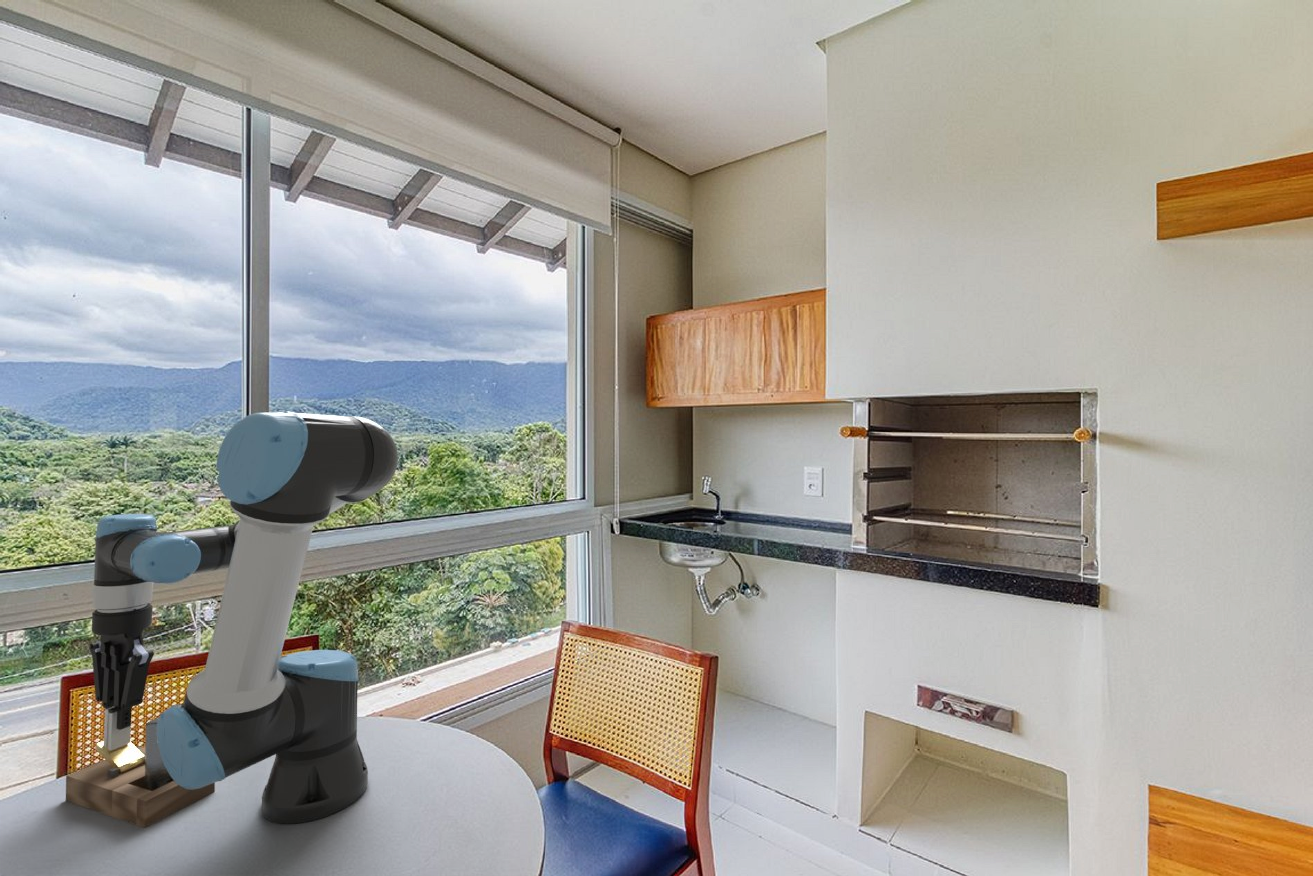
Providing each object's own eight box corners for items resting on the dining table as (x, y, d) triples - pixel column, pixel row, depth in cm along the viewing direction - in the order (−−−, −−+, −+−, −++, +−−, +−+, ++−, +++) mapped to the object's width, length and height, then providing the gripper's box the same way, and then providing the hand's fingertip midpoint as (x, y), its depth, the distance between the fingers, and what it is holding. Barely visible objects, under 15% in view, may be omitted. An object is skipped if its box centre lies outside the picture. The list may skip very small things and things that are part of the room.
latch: (145, 763, 98) (147, 758, 98) (120, 775, 95) (121, 769, 95) (120, 738, 101) (122, 733, 100) (95, 748, 97) (96, 743, 97)
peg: (182, 797, 95) (183, 717, 96) (154, 812, 92) (156, 728, 92) (166, 792, 97) (167, 714, 97) (138, 806, 93) (139, 724, 93)
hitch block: (214, 791, 97) (215, 760, 97) (144, 828, 88) (145, 793, 88) (138, 768, 104) (138, 739, 104) (65, 800, 94) (66, 768, 95)
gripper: (174, 606, 100) (168, 743, 99) (124, 595, 104) (118, 727, 104) (121, 618, 92) (114, 766, 92) (70, 606, 97) (64, 747, 97)
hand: (116, 745), depth 98 cm, fingers closed, pressing on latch
